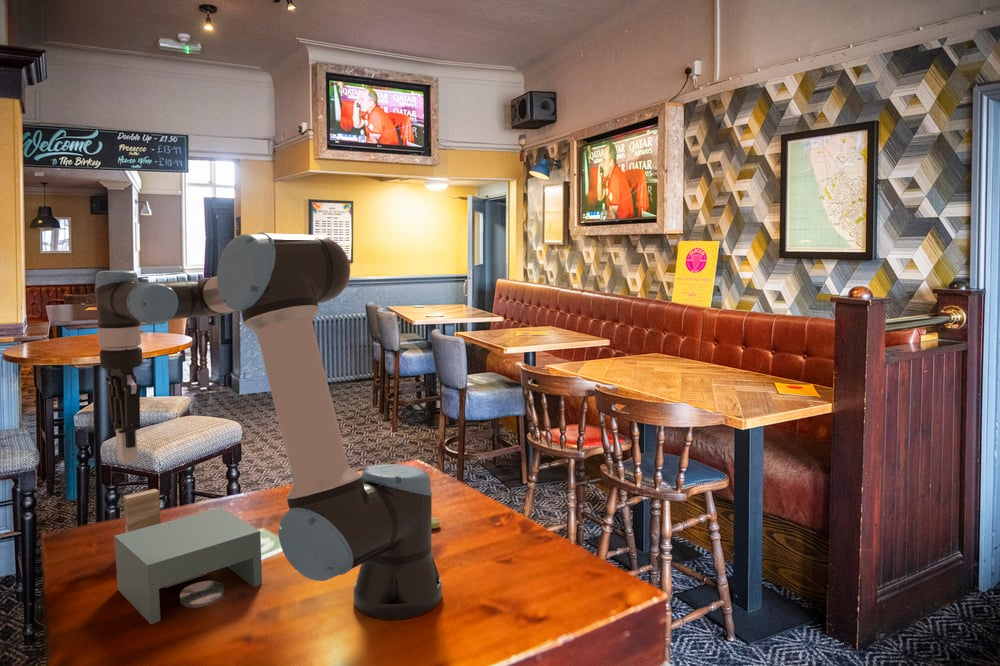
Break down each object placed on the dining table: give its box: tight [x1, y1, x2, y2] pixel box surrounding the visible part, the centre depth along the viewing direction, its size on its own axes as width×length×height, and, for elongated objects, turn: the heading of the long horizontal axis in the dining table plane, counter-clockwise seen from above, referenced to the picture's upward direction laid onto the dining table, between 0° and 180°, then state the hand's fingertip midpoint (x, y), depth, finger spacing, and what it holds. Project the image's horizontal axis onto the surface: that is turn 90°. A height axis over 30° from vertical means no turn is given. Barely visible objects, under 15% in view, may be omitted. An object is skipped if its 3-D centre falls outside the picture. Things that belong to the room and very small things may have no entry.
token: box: [179, 580, 225, 608], centre depth 120 cm, size 7×7×2 cm
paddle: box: [122, 488, 207, 589], centre depth 132 cm, size 22×7×11 cm, turn 46°
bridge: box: [113, 507, 263, 625], centre depth 123 cm, size 16×19×10 cm
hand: (127, 460), depth 143 cm, fingers open, 2 cm apart
